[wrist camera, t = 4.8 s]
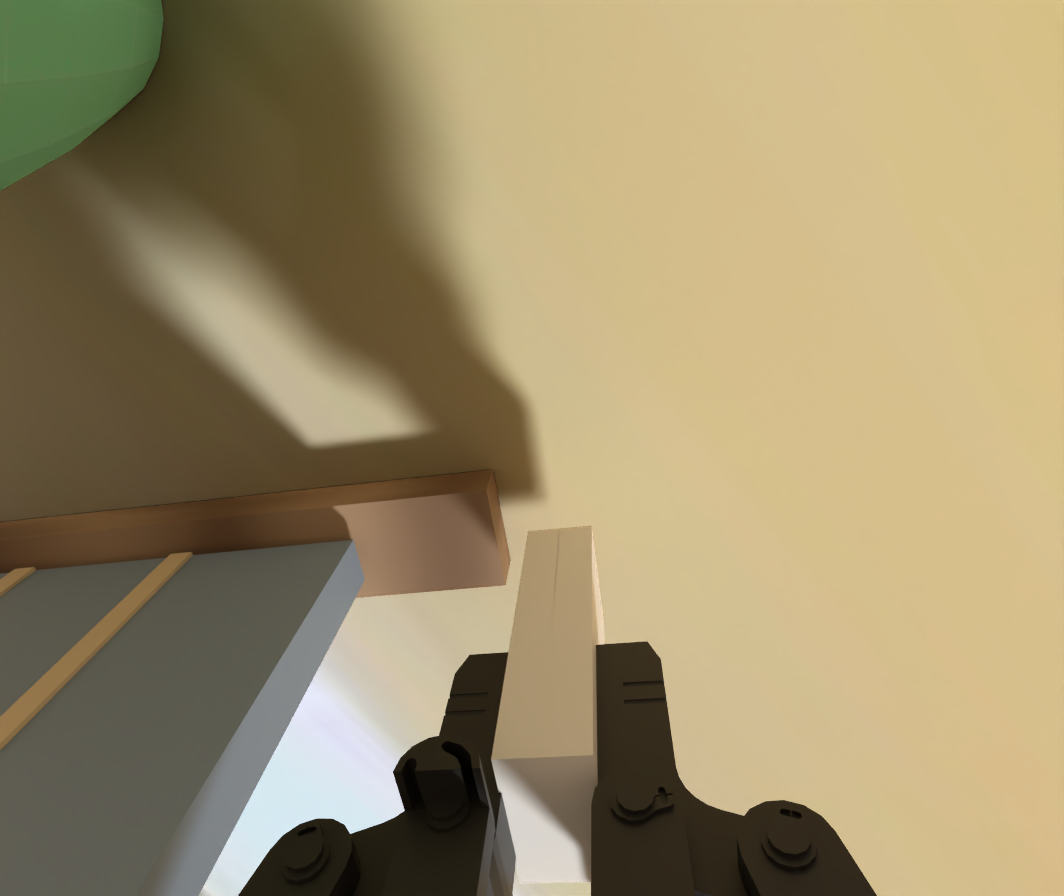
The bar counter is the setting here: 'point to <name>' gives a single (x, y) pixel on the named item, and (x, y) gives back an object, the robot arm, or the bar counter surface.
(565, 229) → the bar counter surface
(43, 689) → the panel
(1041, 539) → the bar counter surface
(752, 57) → the bar counter surface
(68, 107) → the mug
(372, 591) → the brown wooden rack
